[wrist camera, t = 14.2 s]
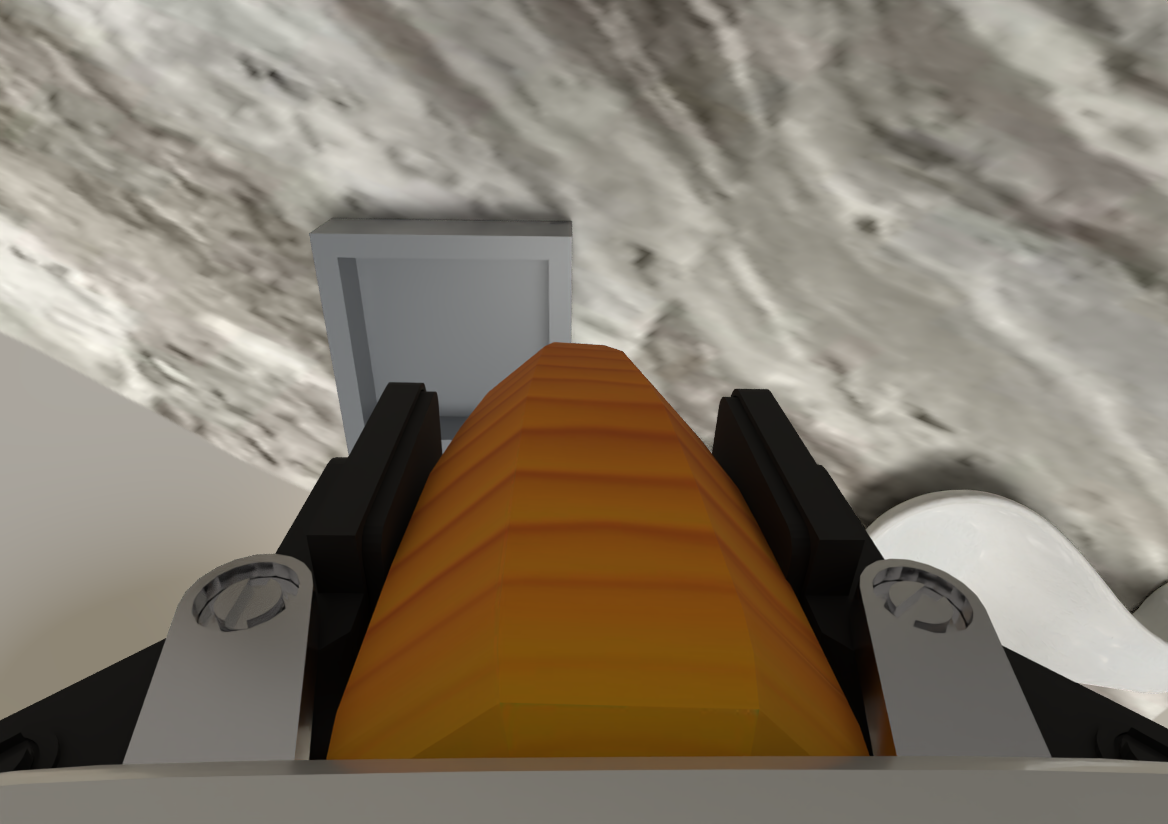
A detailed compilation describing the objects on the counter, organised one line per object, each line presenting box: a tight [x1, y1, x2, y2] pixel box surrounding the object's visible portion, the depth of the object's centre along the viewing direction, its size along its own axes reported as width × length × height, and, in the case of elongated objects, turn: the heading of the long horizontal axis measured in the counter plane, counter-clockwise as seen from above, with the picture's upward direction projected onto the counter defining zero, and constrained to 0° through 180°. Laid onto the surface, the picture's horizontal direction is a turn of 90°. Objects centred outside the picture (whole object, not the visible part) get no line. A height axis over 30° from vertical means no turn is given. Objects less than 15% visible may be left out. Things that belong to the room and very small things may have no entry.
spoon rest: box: [866, 490, 1168, 693], centre depth 38 cm, size 24×12×7 cm, turn 73°
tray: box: [309, 218, 572, 454], centre depth 31 cm, size 11×11×3 cm
